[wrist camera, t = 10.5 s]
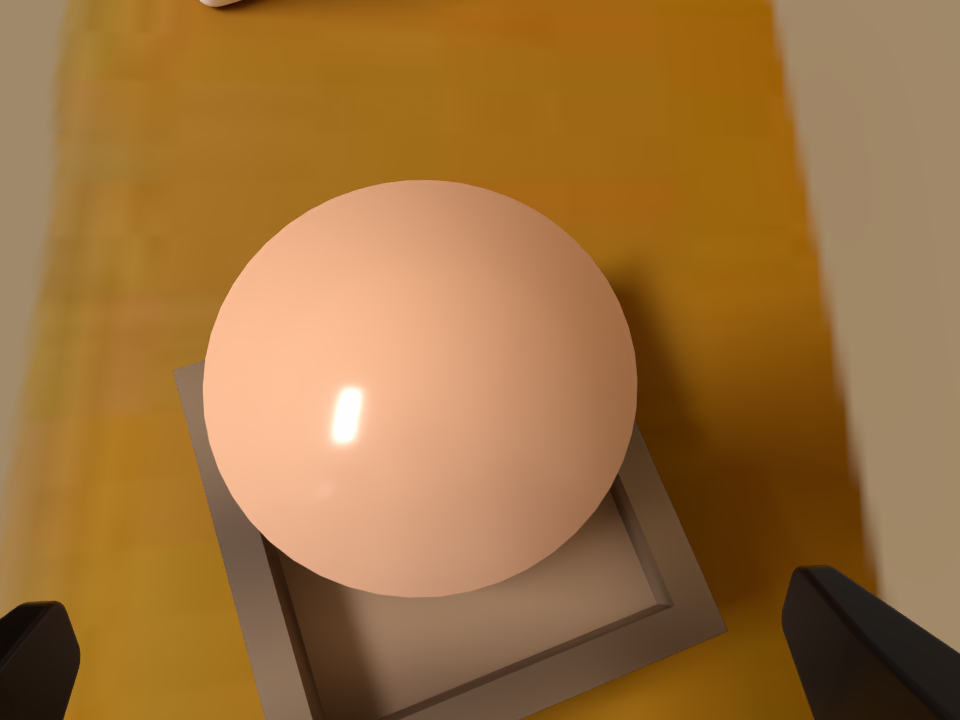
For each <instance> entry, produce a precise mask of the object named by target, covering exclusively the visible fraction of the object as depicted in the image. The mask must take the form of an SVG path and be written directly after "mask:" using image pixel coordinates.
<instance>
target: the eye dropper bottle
mask: <svg viewBox="0 0 960 720" xmlns="http://www.w3.org/2000/svg"><path fill="white" fill-rule="evenodd" d="M199 1H201V2H202V3H203V4H205V5H207V6H210V7H220V6H224V5H227V4H231V3H234V2H238V1H241V0H199Z"/></svg>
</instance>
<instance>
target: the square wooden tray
mask: <svg viewBox="0 0 960 720" xmlns="http://www.w3.org/2000/svg"><path fill="white" fill-rule="evenodd" d="M204 368H205V360H204V361H201V362H198V363H195V364H192V365H189V366H185V367H182V368H179V369H176V370H173V372H174V376H175V380H176V384H177V387H178V391H179V395H180V399H181V403H182V406H183V410H184V414H185V418H186V421H187V425H188V429H189V433H190V437H191V440H192V444H193V448H194V452H195V455H196V459H197V463H198V467H199V470H200V474H201V478H202V482H203V486H204V489H205V493H206V497H207V501H208V504H209V508H210V512H211V516H212V519H213V523H214V527H215V531H216V535H217V538H218V542H219V546H220V550H221V553H222V557H223V561H224V565H225V569H226V572H227V576H228V580H229V584H230V587H231V591H232V595H233V599H234V602H235V606H236V610H237V614H238V618H239V621H240V625H241V629H242V633H243V636H244V640H245V644H246V648H247V651H248V655H249V659H250V663H251V667H252V670H253V674H254V678H255V682H256V685H257V689H258V693H259V697H260V701H261V704H262V708H263V712H264V716H265V719H266V720H520V719H522V718H525V717H527V716H529V715H532V714H534V713H536V712H539V711H541V710H543V709H546V708H548V707H550V706H553V705H555V704H557V703H560V702H562V701H565V700H567V699H569V698H572V697H574V696H576V695H579V694H581V693H583V692H586V691H588V690H590V689H593V688H595V687H598V686H600V685H602V684H605V683H607V682H609V681H612V680H614V679H616V678H619V677H621V676H623V675H626V674H628V673H631V672H633V671H635V670H638V669H640V668H642V667H645V666H647V665H649V664H652V663H654V662H656V661H659V660H661V659H663V658H666V657H668V656H671V655H673V654H675V653H678V652H680V651H682V650H685V649H687V648H689V647H692V646H694V645H696V644H699V643H701V642H704V641H706V640H708V639H711V638H713V637H715V636H718V635H720V634H722V633H725V632H727V631H728V630H727V627H726V625H725V623H724V621H723V618H722V616H721V614H720V612H719V609H718V607H717V605H716V602H715V600H714V598H713V596H712V593H711V591H710V589H709V587H708V584H707V582H706V580H705V577H704V575H703V573H702V571H701V568H700V566H699V564H698V562H697V559H696V557H695V555H694V552H693V550H692V548H691V546H690V543H689V541H688V539H687V536H686V534H685V532H684V530H683V527H682V525H681V523H680V521H679V518H678V516H677V514H676V511H675V509H674V507H673V505H672V502H671V500H670V498H669V496H668V493H667V491H666V489H665V486H664V484H663V482H662V480H661V477H660V475H659V473H658V471H657V468H656V466H655V464H654V461H653V459H652V457H651V455H650V452H649V450H648V448H647V445H646V443H645V441H644V439H643V436H642V434H641V432H640V430H639V427H638V425H637V423H636V420H635V419H634V425H633V430H632V435H631V438H630V442H629V445H628V448H627V451H626V454H625V457H624V460H623V463H622V465H621V467H620V469H619V471H618V473H617V475H616V477H615V479H614V481H613V484H612V486H611V487H610V489H609V490H608V492H607V494H606V495H605V497H604V498H603V500H602V501H601V503H600V504H599V506H598V507H597V509H596V510H595V511H594V513H593V514H592V515H591V516H590V517H589V518H588V519H587V521H586V522H585V523H584V524H583V525H582V526H581V527H580V529H579V530H578V531H577V532H576V533H575V534H574V535H573V536H572V537H570V538H569V539H568V540H567V541H566V542H565V543H564V544H562V545H561V546H560V547H559V548H558V549H557V550H555V551H554V552H553V553H552V554H550V555H549V556H547V557H545V558H544V559H542V560H541V561H539V562H538V563H536V564H535V565H533V566H532V567H530V568H529V569H527V570H525V571H523V572H521V573H518V574H516V575H514V576H512V577H510V578H508V579H506V580H504V581H501V582H499V583H496V584H493V585H489V586H486V587H483V588H480V589H477V590H474V591H470V592H464V593H458V594H453V595H447V596H441V597H413V598H408V597H398V596H389V595H379V594H375V593H371V592H367V591H363V590H359V589H355V588H351V587H347V586H345V585H342V584H340V583H337V582H335V581H332V580H330V579H327V578H325V577H322V576H320V575H318V574H316V573H315V572H313V571H311V570H310V569H308V568H306V567H304V566H303V565H301V564H299V563H297V562H296V561H294V560H293V559H291V558H290V557H289V556H287V555H286V554H285V553H284V552H282V551H281V550H280V549H279V548H277V547H276V546H275V545H273V544H272V543H271V542H270V541H269V540H268V539H267V538H266V537H265V536H264V535H263V534H262V533H261V532H260V531H259V530H258V529H257V528H256V527H255V526H254V525H253V524H252V523H251V521H250V520H249V519H248V518H247V516H246V515H245V513H244V512H243V511H242V509H241V508H240V506H239V505H238V504H237V502H236V501H235V499H234V498H233V497H232V495H231V493H230V491H229V489H228V487H227V485H226V483H225V481H224V479H223V477H222V476H221V474H220V472H219V469H218V466H217V464H216V461H215V458H214V455H213V452H212V449H211V446H210V443H209V438H208V433H207V428H206V423H205V418H204V403H203V379H204Z"/></svg>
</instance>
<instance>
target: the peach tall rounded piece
mask: <svg viewBox="0 0 960 720" xmlns="http://www.w3.org/2000/svg"><path fill="white" fill-rule="evenodd" d="M637 381H638V379H637V369H636V359H635V351H634V347H633V343H632V339H631V334H630V330H629V327H628V324H627V321H626V319H625V316H624V313H623V311H622V308H621V305H620V303H619V301H618V299H617V297H616V295H615V294H614V292H613V290H612V288H611V286H610V284H609V282H608V280H607V279H606V278H605V276H604V275H603V273H602V272H601V271H600V269H599V268H598V266H597V265H596V264H595V262H594V261H593V259H592V258H591V257H590V256H589V255H588V254H587V253H586V252H585V251H584V249H583V248H582V247H581V246H580V245H579V244H578V243H577V242H576V241H575V240H574V239H573V238H572V237H571V236H569V235H568V234H567V233H566V232H565V231H564V230H562V229H561V228H560V227H559V226H558V225H556V224H555V223H554V222H552V221H551V220H549V219H548V218H546V217H545V216H543V215H542V214H540V213H539V212H537V211H536V210H534V209H532V208H530V207H528V206H526V205H524V204H522V203H520V202H518V201H516V200H514V199H512V198H510V197H507V196H504V195H502V194H499V193H496V192H493V191H490V190H488V189H484V188H480V187H475V186H471V185H467V184H462V183H455V182H446V181H437V180H408V181H399V182H391V183H383V184H379V185H375V186H370V187H366V188H362V189H358V190H355V191H352V192H350V193H347V194H344V195H341V196H339V197H336V198H333V199H331V200H329V201H327V202H325V203H323V204H321V205H319V206H317V207H315V208H313V209H311V210H309V211H308V212H306V213H305V214H303V215H302V216H300V217H299V218H297V219H296V220H294V221H293V222H291V223H290V224H288V225H287V226H286V227H284V228H283V229H282V230H281V231H280V232H279V233H277V234H276V235H275V236H274V237H273V238H272V239H270V240H269V241H268V242H267V243H266V244H265V245H264V246H263V247H262V248H261V250H260V251H259V252H258V253H257V254H256V255H255V256H254V257H253V258H252V259H251V261H250V262H249V263H248V264H247V266H246V267H245V268H244V270H243V271H242V273H241V274H240V276H239V277H238V278H237V280H236V281H235V283H234V284H233V286H232V288H231V290H230V291H229V293H228V295H227V297H226V299H225V301H224V303H223V305H222V307H221V309H220V311H219V314H218V317H217V319H216V322H215V325H214V327H213V330H212V333H211V337H210V341H209V346H208V350H207V354H206V359H205V368H204V379H203V403H204V418H205V423H206V428H207V433H208V438H209V443H210V446H211V449H212V452H213V455H214V458H215V461H216V464H217V466H218V469H219V472H220V474H221V476H222V477H223V479H224V481H225V483H226V485H227V487H228V489H229V491H230V493H231V495H232V497H233V498H234V499H235V501H236V502H237V504H238V505H239V506H240V508H241V509H242V511H243V512H244V513H245V515H246V516H247V518H248V519H249V520H250V521H251V523H252V524H253V525H254V526H255V527H256V528H257V529H258V530H259V531H260V532H261V533H262V534H263V535H264V536H265V537H266V538H267V539H268V540H269V541H270V542H271V543H272V544H273V545H275V546H276V547H277V548H279V549H280V550H281V551H282V552H284V553H285V554H286V555H287V556H289V557H290V558H291V559H293V560H294V561H296V562H297V563H299V564H301V565H303V566H304V567H306V568H308V569H310V570H311V571H313V572H315V573H316V574H318V575H320V576H322V577H325V578H327V579H330V580H332V581H335V582H337V583H340V584H342V585H345V586H347V587H351V588H355V589H359V590H363V591H367V592H371V593H375V594H379V595H389V596H398V597H408V598H413V597H441V596H447V595H453V594H458V593H464V592H470V591H474V590H477V589H480V588H483V587H486V586H489V585H493V584H496V583H499V582H501V581H504V580H506V579H508V578H510V577H512V576H514V575H516V574H518V573H521V572H523V571H525V570H527V569H529V568H530V567H532V566H533V565H535V564H536V563H538V562H539V561H541V560H542V559H544V558H545V557H547V556H549V555H550V554H552V553H553V552H554V551H555V550H557V549H558V548H559V547H560V546H561V545H562V544H564V543H565V542H566V541H567V540H568V539H569V538H570V537H572V536H573V535H574V534H575V533H576V532H577V531H578V530H579V529H580V527H581V526H582V525H583V524H584V523H585V522H586V521H587V519H588V518H589V517H590V516H591V515H592V514H593V513H594V511H595V510H596V509H597V507H598V506H599V504H600V503H601V501H602V500H603V498H604V497H605V495H606V494H607V492H608V490H609V489H610V487H611V486H612V484H613V481H614V479H615V477H616V475H617V473H618V471H619V469H620V467H621V465H622V463H623V460H624V457H625V454H626V451H627V448H628V445H629V442H630V438H631V435H632V430H633V425H634V419H635V413H636V407H637Z"/></svg>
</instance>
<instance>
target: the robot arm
mask: <svg viewBox="0 0 960 720" xmlns="http://www.w3.org/2000/svg"><path fill="white" fill-rule="evenodd" d="M782 626H783V631H784V634H785V637H786V640H787V643H788V646H789V649H790V652H791V654H792V657H793V660H794V663H795V666H796V669H797V672H798V675H799V677H800V680H801V683H802V686H803V689H804V692H805V695H806V698H807V701H808V703H809V706H810V709H811V712H812V715H813V718H814V720H960V653H958V652H957V651H955V650H954V649H953V648H951V647H950V646H948V645H947V644H945V643H944V642H942V641H940V640H939V639H938V638H936V637H935V636H933V635H932V634H930V633H929V632H928V631H926V630H925V629H923V628H922V627H920V626H919V625H917V624H916V623H914V622H913V621H911V620H910V619H908V618H907V617H906V616H904V615H903V614H901V613H900V612H898V611H897V610H895V609H894V608H892V607H891V606H889V605H888V604H886V603H885V602H883V601H882V600H881V599H879V598H878V597H876V596H875V595H873V594H872V593H870V592H869V591H867V590H866V589H864V588H863V587H861V586H860V585H859V584H857V583H856V582H854V581H853V580H851V579H850V578H848V577H847V576H845V575H844V574H842V573H841V572H839V571H838V570H837V569H835V568H833V567H831V566H828V565H810V566H800V567H797V568H796V569H795V570H794V571H793V574H792V577H791V580H790V584H789V588H788V591H787V595H786V599H785V602H784V606H783V610H782ZM79 665H80V648H79V644H78V642H77V639H76V636H75V633H74V631H73V628H72V625H71V622H70V620H69V617H68V614H67V611H66V609H65V607H64V605H63V604H61V603H60V602H58V601H37V602H26V603H23V604H21V605H19V606H17V607H16V608H14V609H13V610H12V611H10V612H9V613H8V614H6V615H5V616H4V617H2V618H1V619H0V720H63V719H64V716H65V712H66V709H67V706H68V702H69V699H70V696H71V693H72V689H73V686H74V683H75V679H76V676H77V673H78V669H79Z"/></svg>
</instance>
